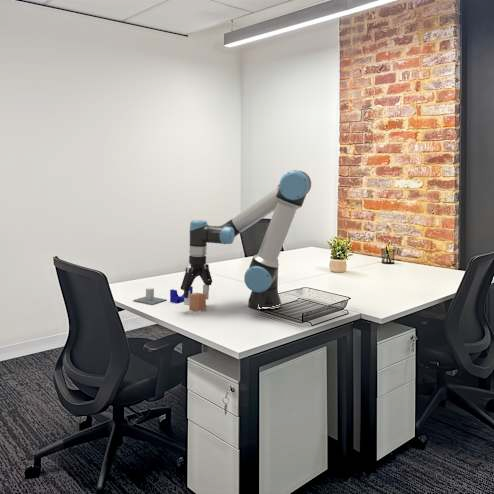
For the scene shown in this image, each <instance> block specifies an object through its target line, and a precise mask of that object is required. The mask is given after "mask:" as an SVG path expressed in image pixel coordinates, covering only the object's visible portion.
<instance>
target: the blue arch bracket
mask: <svg viewBox="0 0 494 494" xmlns="http://www.w3.org/2000/svg"><path fill="white" fill-rule="evenodd" d="M187 288H188V287H187ZM193 288H194V286H193V285H191V287H190V289H189V291H190V294H193V293H194V291H193ZM169 301H170V303H175V304H181V303H184V293H183V294H182V295H179V294H178V290H177V289H170V290H169Z"/></svg>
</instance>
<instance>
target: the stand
mask: <svg viewBox="0 0 494 494" xmlns="http://www.w3.org/2000/svg"><path fill="white" fill-rule="evenodd" d="M132 301H133V302H136V303H140V304H145V305H151V306H154V305H157V304H160V303H164V302H167V299H166V298H160V297H156V296H155V288H154V287H153V288H152V287H147V288H145V296H143V297H139V298H136V299H133V300H132Z"/></svg>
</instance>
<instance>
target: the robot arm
mask: <svg viewBox="0 0 494 494" xmlns="http://www.w3.org/2000/svg"><path fill="white" fill-rule="evenodd" d="M311 187H312V181H311V177H310V175H308V173H306V172H305V171H303V170H297V169H293V170H290V171H287V172H286V173H284V174H283V175H282V176H281V178H280V180H279V183H278V185H277V187H276V188H275V189H274V190H273V191H271V192H269V193H268V194H267V195H265V196H264V197H262V198H261V199H259V200H258V201H256V202H254V203H253V204H252V205H251V206H249V207H247V208H246V209H245V210H243V211H242V212H240V213H239V214H237V215H235V216H234V217H232V218H231V219H230V220H228V221H226V222H225V223H223V224H221V225H208V221H207V220H202V219H195V220H191V221H190V223H189V257H188V263H189V265H190V267H186V268H185V273H184V275H183V278H182V279H183V280H182V282H181V286H180V290H182V291H183V294H184V302H183V305H186V306H189V305H190V291H189V289H190V287H191V286H193V283H194V281H195V279H196V278H198V277H200V278H201V280H202V282H203V284H202V294H206V301H208V300H209V297H210V296H209V294H210V293H209V292H210V286H212V283H213V279H212V276H211V271H210V265H209V264H208V263H207V256H206V255H207V250H208V248H207V246H208V245H207V243H209V244H210V243H211V244H221V245H232V244H233V243H234V240H235V238H236V237H237V236H238V235H240V234H241V233H242V232H244V231H245V230H247V229H248V228H250V227H252V226H253V225H255V224H256V223H258V222H259V221H261V220H262V219H264V218H265V217H266V216H268V215H270V214H271V213H272V216H271V218H270V222H269V224H268V226H267V229H266V232H265V235H264V237H263V240H262V242H261V246H260V248H259V249H258V250H259V251H258V253H257V254H254V255H253V256H252V259H251V262H250V264H249V267H248V268H247V269H246V271H245V273H244V279H243V280H244V283H245V285H246V287H247V288H248V290H250V291H251V292H250V295H249V297H248V301H247V303H248V304H247V306H248V307H249V308H250V309H253V310H257V307H258V304H259V307H260V308H262V307H272V306H276V305H279V304H281V305H282V301H281V298H280V294H279V290H278V285H279V265H280V264H279V256H280V253H281V251H282V248H283V245H284V243H285V240H286V238H287V235H288V233H289V230H290V228H291V225H292V223H293V220H294V218H295V215H296V213H297V210H298V209H301V208H302V207H303V204H304V202H305V199H306V196H307V195H308V193H309V192H310V191H311ZM187 287H188V288H187Z"/></svg>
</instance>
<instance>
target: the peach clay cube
mask: <svg viewBox="0 0 494 494" xmlns="http://www.w3.org/2000/svg"><path fill="white" fill-rule="evenodd" d="M206 302H207V299H206V294H203V292H202V293H201V292H193V294H190V305H188V306H189V309H188V310H189V311H195V312H201V311H204V310H206V306H207V303H206Z"/></svg>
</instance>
